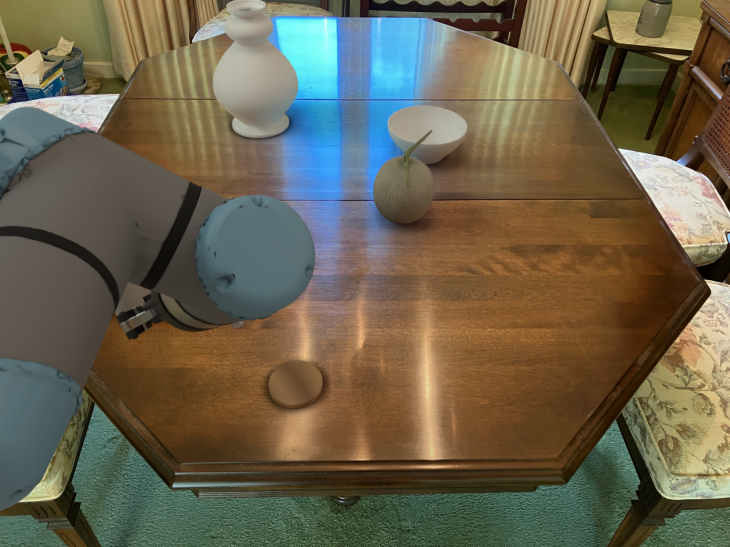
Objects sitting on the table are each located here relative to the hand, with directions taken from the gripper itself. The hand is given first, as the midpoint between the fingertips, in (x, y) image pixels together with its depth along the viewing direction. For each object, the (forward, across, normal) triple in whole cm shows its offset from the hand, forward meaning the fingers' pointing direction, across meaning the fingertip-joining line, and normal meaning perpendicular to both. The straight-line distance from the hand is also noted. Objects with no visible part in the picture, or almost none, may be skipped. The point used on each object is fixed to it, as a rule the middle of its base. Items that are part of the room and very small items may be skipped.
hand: (156, 310), depth 66 cm
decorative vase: (+42, +47, +26) cm, 68 cm away
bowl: (+18, +65, +3) cm, 68 cm away
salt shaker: (+17, +1, +1) cm, 17 cm away
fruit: (+10, +46, -6) cm, 48 cm away
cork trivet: (-1, +10, -17) cm, 20 cm away
